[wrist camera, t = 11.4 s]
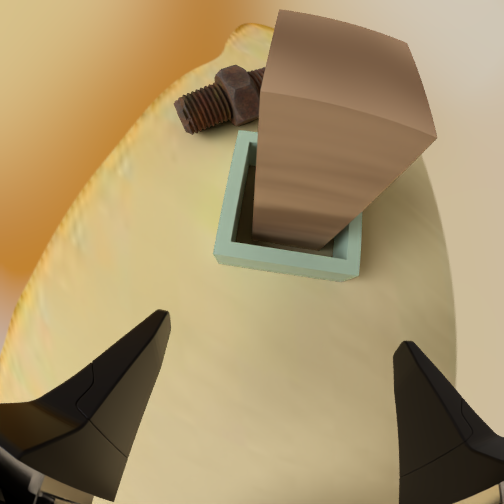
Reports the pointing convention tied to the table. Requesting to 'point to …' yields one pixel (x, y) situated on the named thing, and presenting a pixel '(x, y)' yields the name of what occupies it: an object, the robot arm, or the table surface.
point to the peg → (332, 127)
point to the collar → (274, 259)
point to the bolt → (222, 100)
